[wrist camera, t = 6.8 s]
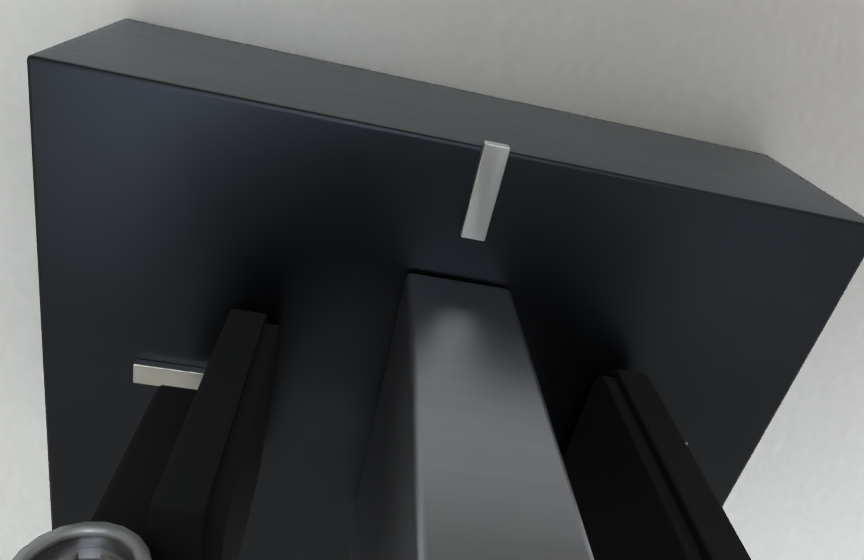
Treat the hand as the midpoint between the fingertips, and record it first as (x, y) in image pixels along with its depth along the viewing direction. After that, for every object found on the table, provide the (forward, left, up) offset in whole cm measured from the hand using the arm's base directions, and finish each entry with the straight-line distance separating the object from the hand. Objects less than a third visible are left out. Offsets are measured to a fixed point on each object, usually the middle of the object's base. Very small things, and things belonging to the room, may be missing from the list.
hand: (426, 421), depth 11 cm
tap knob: (0, 0, 0) cm, 0 cm away
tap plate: (0, 0, -4) cm, 4 cm away
